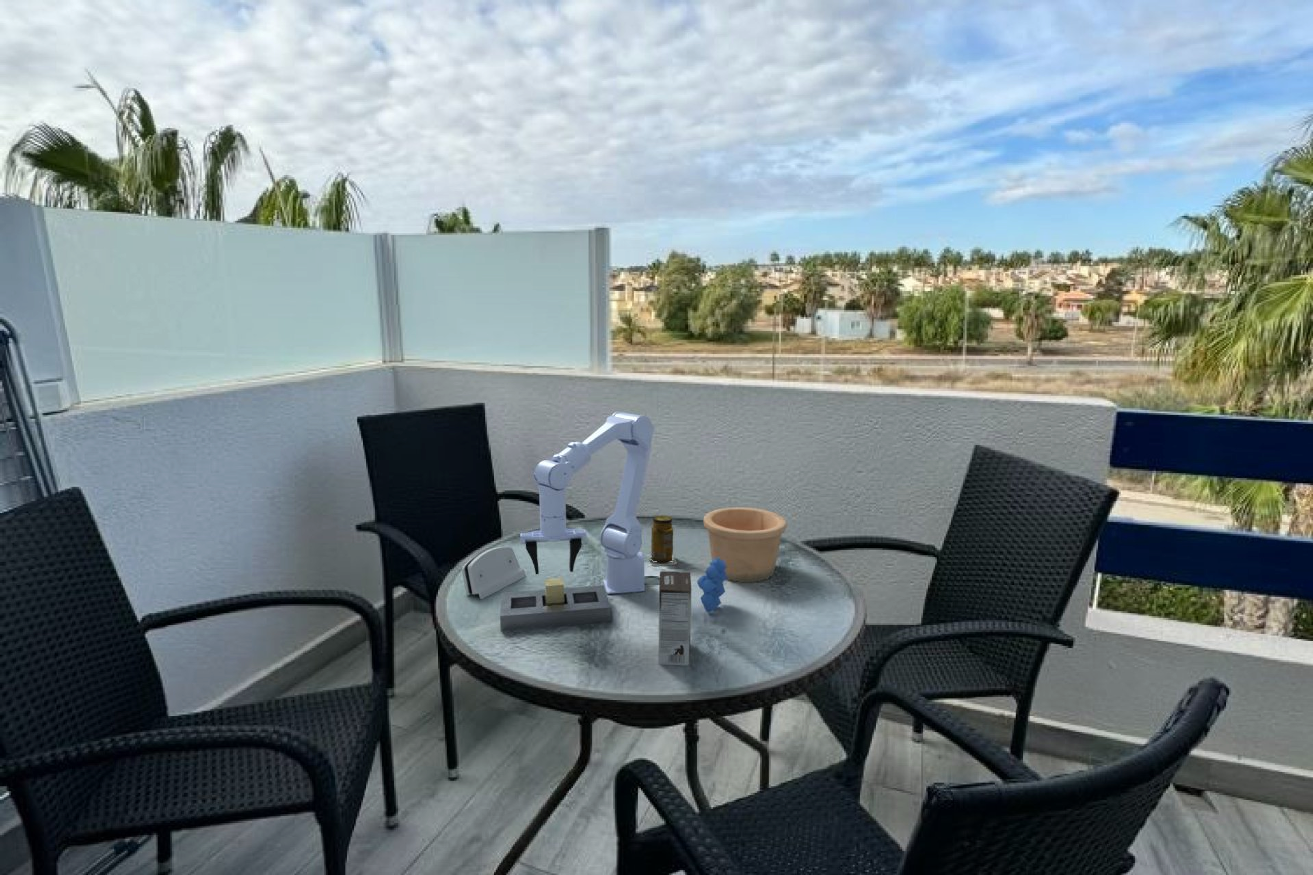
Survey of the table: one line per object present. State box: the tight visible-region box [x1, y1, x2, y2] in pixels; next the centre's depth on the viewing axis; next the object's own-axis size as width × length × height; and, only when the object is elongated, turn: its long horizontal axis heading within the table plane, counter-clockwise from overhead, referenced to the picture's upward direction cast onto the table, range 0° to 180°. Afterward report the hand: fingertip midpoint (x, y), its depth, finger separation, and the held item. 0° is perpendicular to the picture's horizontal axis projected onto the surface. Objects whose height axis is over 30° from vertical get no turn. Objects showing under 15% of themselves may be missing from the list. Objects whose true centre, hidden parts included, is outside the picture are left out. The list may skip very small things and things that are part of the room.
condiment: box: [646, 515, 679, 567], centre depth 182 cm, size 7×8×12 cm
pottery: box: [703, 506, 788, 583], centre depth 175 cm, size 22×22×14 cm
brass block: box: [544, 577, 565, 606], centre depth 149 cm, size 4×4×8 cm
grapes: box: [696, 558, 727, 613], centre depth 153 cm, size 12×7×12 cm, turn 154°
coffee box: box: [658, 570, 692, 666], centre depth 132 cm, size 9×6×16 cm
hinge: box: [461, 546, 527, 600], centre depth 166 cm, size 17×5×10 cm, turn 150°
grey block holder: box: [499, 584, 611, 632], centre depth 150 cm, size 24×12×4 cm, turn 101°
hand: (554, 571), depth 148 cm, fingers open, 7 cm apart
